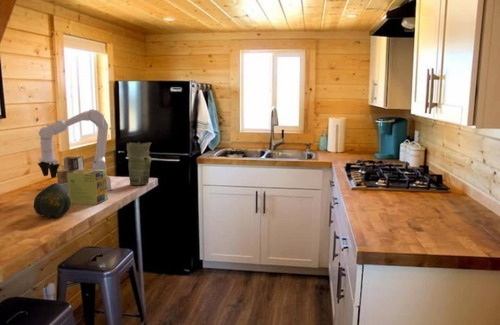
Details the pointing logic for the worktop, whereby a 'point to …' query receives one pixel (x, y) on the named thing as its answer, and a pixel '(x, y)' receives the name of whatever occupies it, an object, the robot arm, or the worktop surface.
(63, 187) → the base block
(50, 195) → the squash
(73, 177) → the protein box
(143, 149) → the pouch
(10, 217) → the worktop surface
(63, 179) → the walnut block
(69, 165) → the coffee box
